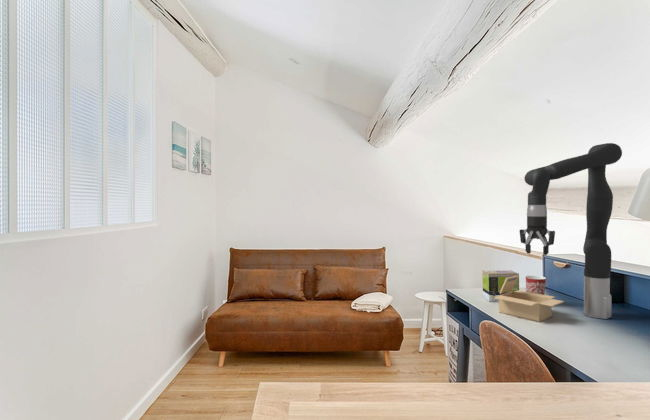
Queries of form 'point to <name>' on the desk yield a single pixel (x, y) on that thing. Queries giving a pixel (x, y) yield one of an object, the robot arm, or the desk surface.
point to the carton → (527, 305)
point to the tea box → (496, 283)
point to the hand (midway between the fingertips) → (536, 253)
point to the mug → (535, 284)
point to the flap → (509, 284)
